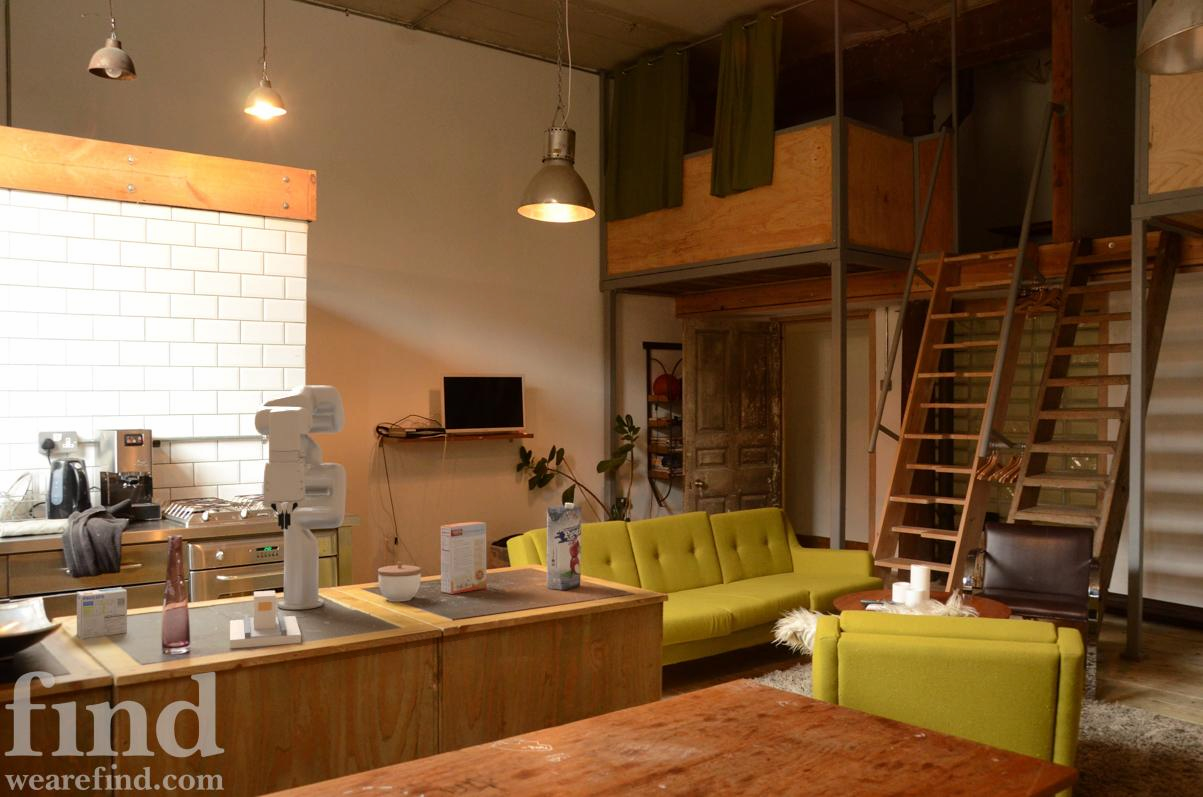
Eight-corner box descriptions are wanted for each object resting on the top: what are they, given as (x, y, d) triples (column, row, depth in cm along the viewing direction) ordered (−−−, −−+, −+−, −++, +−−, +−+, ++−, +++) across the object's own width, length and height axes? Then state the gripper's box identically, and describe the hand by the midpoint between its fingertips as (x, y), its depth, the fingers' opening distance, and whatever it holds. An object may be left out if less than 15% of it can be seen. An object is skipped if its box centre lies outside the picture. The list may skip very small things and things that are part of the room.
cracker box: (475, 586, 305) (475, 520, 306) (487, 588, 301) (487, 522, 301) (439, 592, 295) (439, 524, 296) (451, 594, 291) (451, 526, 291)
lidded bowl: (414, 593, 293) (415, 557, 293) (425, 601, 281) (426, 563, 281) (373, 597, 287) (373, 560, 287) (382, 605, 276) (383, 566, 276)
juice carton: (542, 588, 302) (543, 503, 302) (561, 583, 311) (561, 500, 311) (566, 591, 297) (566, 504, 297) (584, 586, 306) (584, 502, 306)
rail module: (253, 623, 241) (253, 591, 241) (274, 622, 243) (274, 590, 243) (254, 629, 234) (254, 597, 234) (275, 628, 236) (275, 595, 236)
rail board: (229, 628, 246) (230, 615, 246) (295, 623, 251) (295, 610, 252) (229, 648, 225) (230, 634, 225) (300, 642, 231) (300, 628, 231)
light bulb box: (121, 628, 245) (122, 586, 246) (128, 633, 240) (128, 590, 240) (75, 634, 239) (75, 591, 239) (80, 639, 234) (80, 595, 234)
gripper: (314, 455, 250) (313, 525, 251) (253, 456, 245) (253, 527, 246) (315, 458, 243) (315, 529, 244) (253, 459, 238) (253, 532, 239)
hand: (284, 528), depth 245 cm, fingers closed
